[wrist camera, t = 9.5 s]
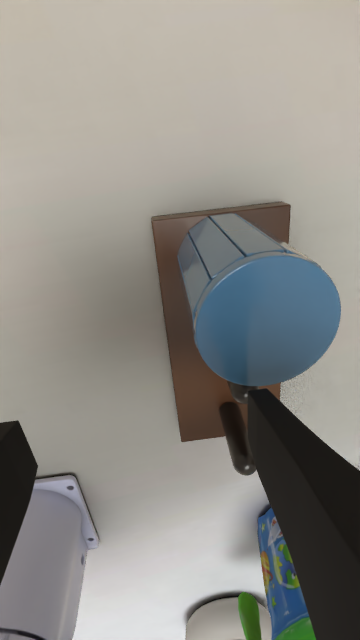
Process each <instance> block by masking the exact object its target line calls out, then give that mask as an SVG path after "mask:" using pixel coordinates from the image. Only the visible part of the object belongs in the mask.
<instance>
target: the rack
mask: <svg viewBox="0 0 360 640" xmlns="http://www.w3.org/2000/svg"><path fill="white" fill-rule="evenodd" d="M290 207H291V206H290V205H289V204H287V203H284V202H275V203H266V204H258V205H249V206H240V207H232V208H223V209H215V210H206V211H197V212H189V213H180V214H172V215H163V216H154V217H152V229H153V236H154V243H155V251H156V258H157V266H158V273H159V280H160V288H161V295H162V303H163V310H164V317H165V325H166V332H167V340H168V347H169V354H170V362H171V369H172V377H173V384H174V391H175V399H176V406H177V414H178V421H179V428H180V436H181V441H182V442H186V441H194V440H201V439H208V438H216V437H223V436H226V440H227V444H228V447H229V451H230V455H231V459H232V462H233V466H234V468H235V470H236V471H237V472H238V473H240V474H242V475H251V474H253V473H254V472H255V471H256V466H255V463H254V459H253V456H252V452H251V449H250V445H249V441H248V391H249V390H257V389H265V388H267V389H268V390H269V391H271V392H272V394H273V395H274V396H275V397H276V398H277V399H278V400H279V401H280V385H281V383H277V384H273V385H267V386H246V385H240V384H236V383H233V382H230V381H228V380H226V379H224V378H222V377H220V376H219V375H217V374H216V373H215V372H214V371H212V370H211V369H210V368H209V367H208V366H207V364H206V363H205V362H204V360H203V359H202V357H201V355H200V353H199V350H198V348H197V347H196V344H195V342H194V337H193V333H192V329H191V325H190V320H189V316H188V312H187V308H186V304H185V299H184V295H183V291H182V287H181V282H180V278H179V271H178V261H177V255H178V251H179V248H180V246H181V244H182V242H183V240H184V237H185V235H186V233H189V232H188V231H189V230H190V229H191V228H192V227H194V226H195V225H196V224H198V223H199V222H200V221H202V220H203V219H204V218H206V217H209V216H210V215H217V214H226V213H234V214H235V213H236V214H238V215H240V216H242V217H245V218H247V219H249V220H251V221H253V222H255V223H256V224H258V225H259V226H261V227H262V228H264V229H265V230H267V231H269V232H270V233H272V234H273V235H275V236H276V237H278V238H279V239H281V240H282V241H284V242H285V243H287V244H288V243H289V225H290Z"/></svg>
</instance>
